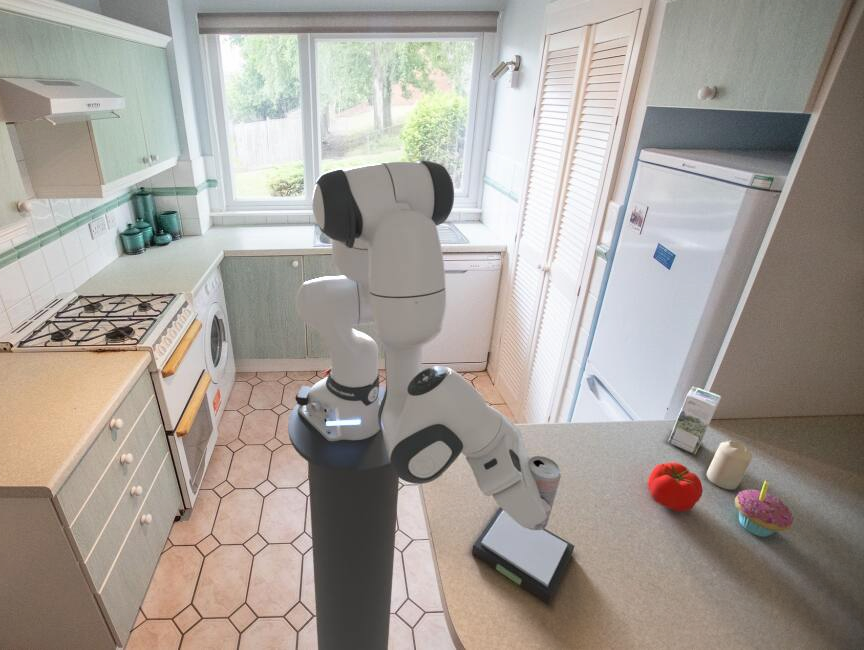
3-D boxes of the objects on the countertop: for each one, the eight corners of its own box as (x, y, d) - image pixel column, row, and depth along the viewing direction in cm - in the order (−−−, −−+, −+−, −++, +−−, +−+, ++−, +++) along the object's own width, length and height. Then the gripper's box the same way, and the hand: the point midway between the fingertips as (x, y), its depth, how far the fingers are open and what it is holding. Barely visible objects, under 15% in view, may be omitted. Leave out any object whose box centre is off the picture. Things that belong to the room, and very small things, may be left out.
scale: (470, 555, 83) (472, 544, 82) (499, 512, 91) (502, 501, 90) (547, 606, 75) (551, 595, 73) (571, 554, 83) (575, 543, 82)
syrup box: (701, 443, 109) (722, 394, 103) (694, 456, 105) (716, 406, 99) (673, 432, 113) (693, 384, 106) (666, 443, 109) (686, 394, 103)
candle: (739, 493, 96) (757, 458, 91) (707, 483, 98) (724, 448, 94) (735, 476, 100) (752, 441, 95) (704, 467, 102) (720, 432, 98)
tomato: (664, 478, 99) (675, 452, 96) (704, 510, 92) (717, 483, 88) (632, 489, 97) (642, 463, 93) (670, 523, 89) (682, 496, 86)
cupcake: (742, 541, 86) (768, 495, 80) (718, 504, 93) (740, 460, 88) (793, 548, 84) (823, 502, 79) (765, 511, 92) (790, 467, 86)
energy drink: (531, 502, 82) (544, 451, 77) (554, 525, 78) (569, 473, 72) (508, 511, 80) (519, 460, 75) (529, 536, 76) (543, 483, 70)
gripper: (467, 411, 83) (513, 456, 87) (481, 500, 65) (539, 554, 68) (496, 393, 81) (542, 440, 84) (518, 480, 63) (576, 537, 66)
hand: (541, 492), depth 76 cm, fingers closed on energy drink, 5 cm apart
